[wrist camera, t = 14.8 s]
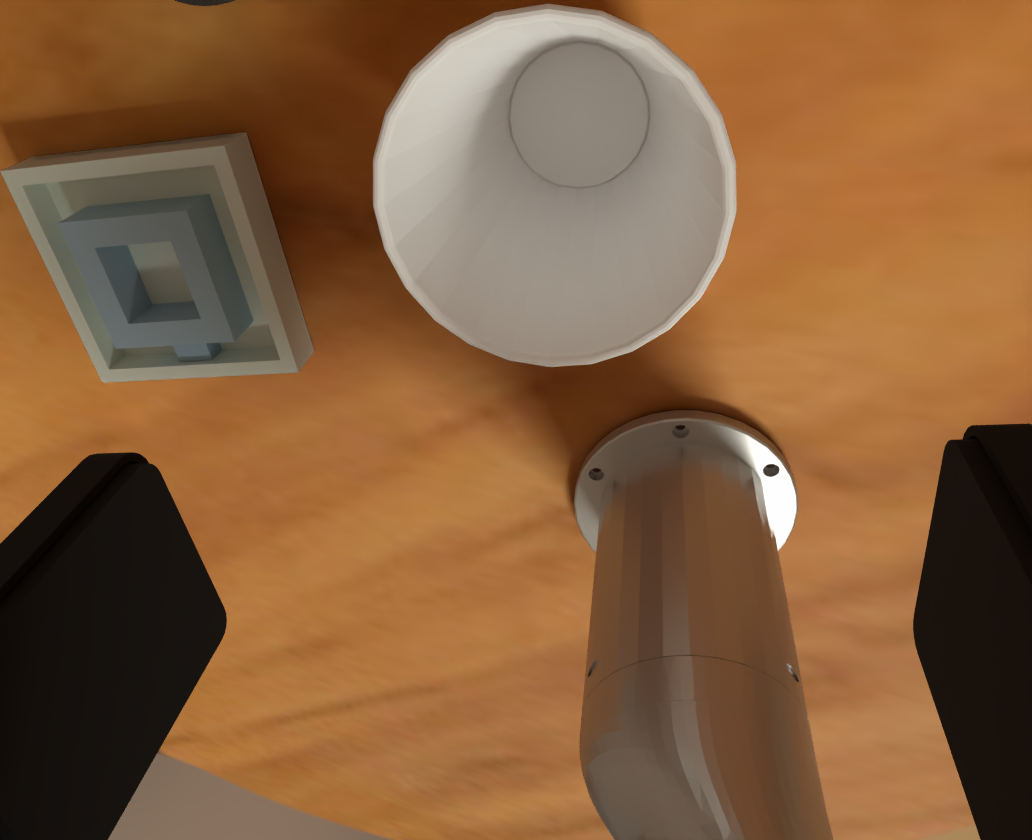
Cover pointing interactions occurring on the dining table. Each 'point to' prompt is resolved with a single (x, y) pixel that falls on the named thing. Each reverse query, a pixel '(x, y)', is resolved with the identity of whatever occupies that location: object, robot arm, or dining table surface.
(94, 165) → the tray
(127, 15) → the dining table surface
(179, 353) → the blue-grey rectangular frame
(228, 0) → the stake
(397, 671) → the dining table surface
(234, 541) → the dining table surface
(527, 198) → the cup
